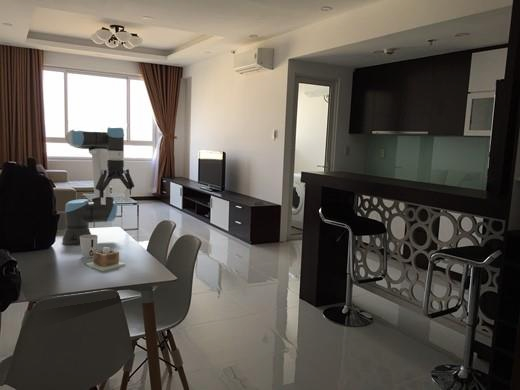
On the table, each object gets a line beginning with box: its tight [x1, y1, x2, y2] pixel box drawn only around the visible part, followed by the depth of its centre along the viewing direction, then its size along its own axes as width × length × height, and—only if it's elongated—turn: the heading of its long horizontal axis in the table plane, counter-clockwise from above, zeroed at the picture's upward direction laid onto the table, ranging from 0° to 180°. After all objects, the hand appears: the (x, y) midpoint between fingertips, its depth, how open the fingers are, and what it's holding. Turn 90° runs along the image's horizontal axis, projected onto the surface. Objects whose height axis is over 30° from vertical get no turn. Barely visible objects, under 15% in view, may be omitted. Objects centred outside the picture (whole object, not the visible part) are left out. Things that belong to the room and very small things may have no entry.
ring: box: [92, 248, 120, 266], centre depth 196 cm, size 8×8×5 cm
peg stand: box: [86, 246, 126, 272], centre depth 196 cm, size 12×12×8 cm
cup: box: [79, 234, 98, 258], centre depth 209 cm, size 8×8×10 cm
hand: (115, 203), depth 209 cm, fingers open, 13 cm apart
